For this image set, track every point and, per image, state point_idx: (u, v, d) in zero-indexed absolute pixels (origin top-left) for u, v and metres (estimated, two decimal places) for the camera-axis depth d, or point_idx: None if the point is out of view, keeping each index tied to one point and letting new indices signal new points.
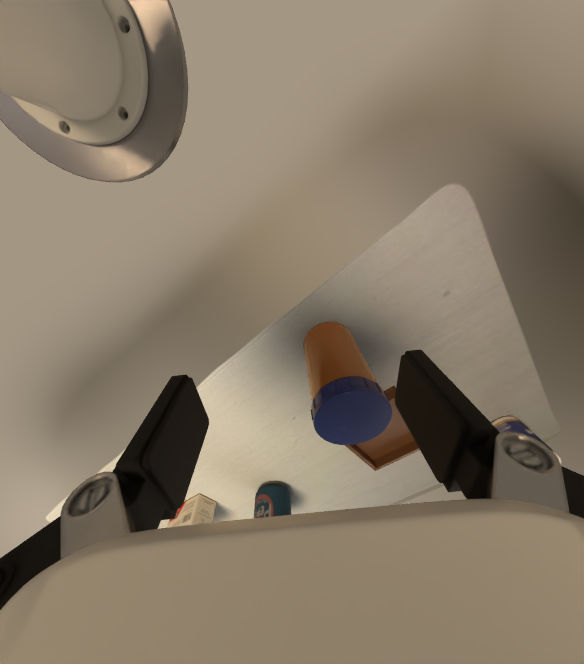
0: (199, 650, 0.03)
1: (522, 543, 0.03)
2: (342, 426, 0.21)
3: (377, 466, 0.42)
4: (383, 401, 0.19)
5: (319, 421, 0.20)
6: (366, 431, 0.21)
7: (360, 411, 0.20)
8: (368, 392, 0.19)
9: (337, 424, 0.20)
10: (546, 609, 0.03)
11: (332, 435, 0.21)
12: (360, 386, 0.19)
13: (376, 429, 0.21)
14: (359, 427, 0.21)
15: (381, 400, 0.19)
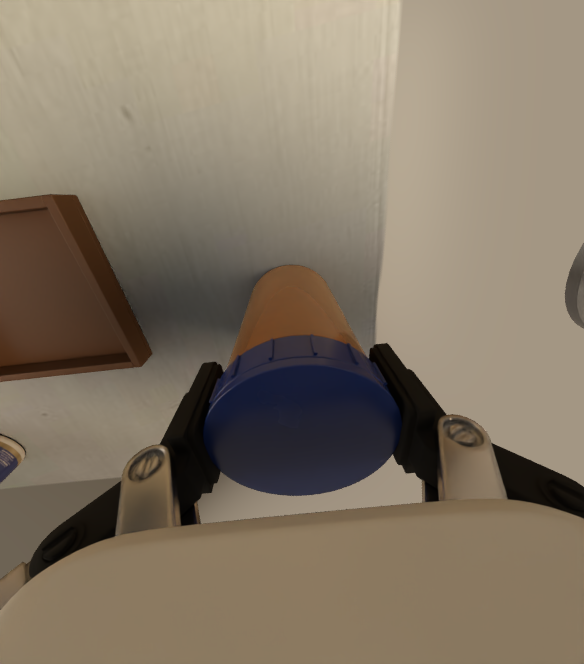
0: (199, 650, 0.03)
1: (522, 543, 0.03)
2: (297, 421, 0.08)
3: None
4: (313, 491, 0.10)
5: (358, 390, 0.07)
6: (243, 452, 0.08)
7: (318, 460, 0.09)
8: (355, 481, 0.09)
9: (314, 416, 0.07)
10: (546, 609, 0.03)
11: (282, 392, 0.07)
12: None
13: (238, 466, 0.09)
14: (268, 445, 0.08)
15: (317, 489, 0.10)
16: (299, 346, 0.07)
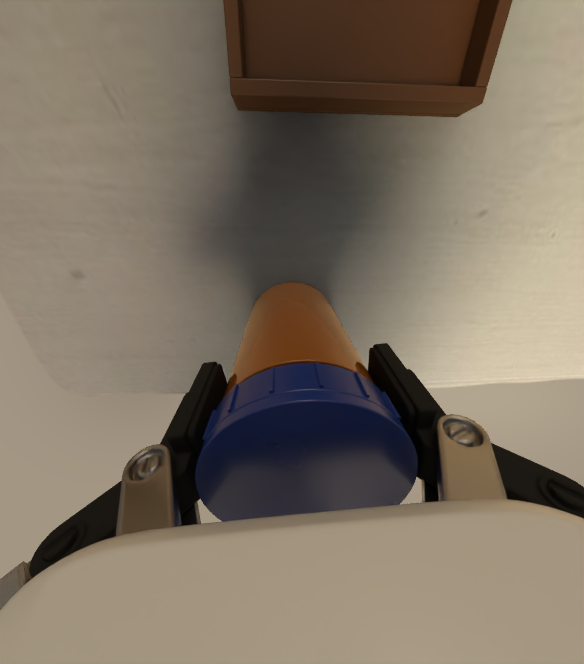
0: (199, 649, 0.03)
1: (522, 543, 0.03)
2: (301, 461, 0.07)
3: None
4: None
5: (370, 427, 0.06)
6: (240, 494, 0.07)
7: (324, 503, 0.08)
8: None
9: (320, 456, 0.07)
10: (546, 609, 0.03)
11: (284, 430, 0.06)
12: None
13: (234, 509, 0.08)
14: (268, 487, 0.07)
15: None
16: (303, 377, 0.07)
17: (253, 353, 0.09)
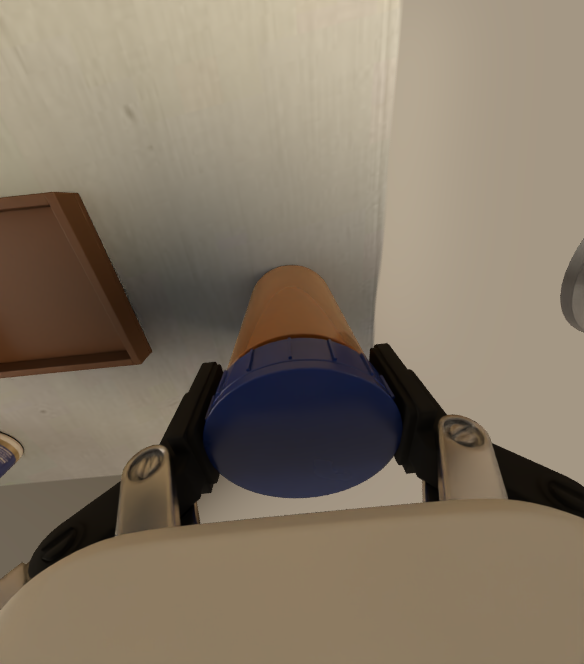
0: (199, 649, 0.03)
1: (522, 543, 0.03)
2: (315, 465, 0.09)
3: None
4: (265, 382, 0.07)
5: (276, 490, 0.09)
6: (363, 430, 0.08)
7: (280, 431, 0.08)
8: (218, 409, 0.07)
9: (302, 470, 0.09)
10: (546, 609, 0.03)
11: (332, 481, 0.09)
12: (210, 407, 0.08)
13: (370, 411, 0.07)
14: (338, 440, 0.08)
15: (260, 387, 0.07)
16: None
17: None
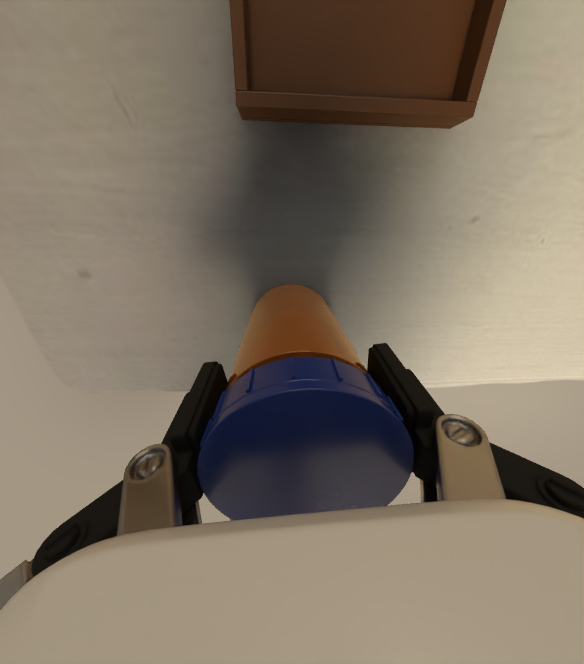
0: (198, 650, 0.03)
1: (522, 543, 0.03)
2: (319, 496, 0.08)
3: None
4: (266, 405, 0.06)
5: None
6: (371, 457, 0.07)
7: (282, 458, 0.07)
8: (215, 434, 0.07)
9: (305, 503, 0.08)
10: (546, 609, 0.03)
11: None
12: (206, 432, 0.07)
13: (379, 436, 0.07)
14: (344, 468, 0.07)
15: (261, 409, 0.06)
16: None
17: (253, 347, 0.10)
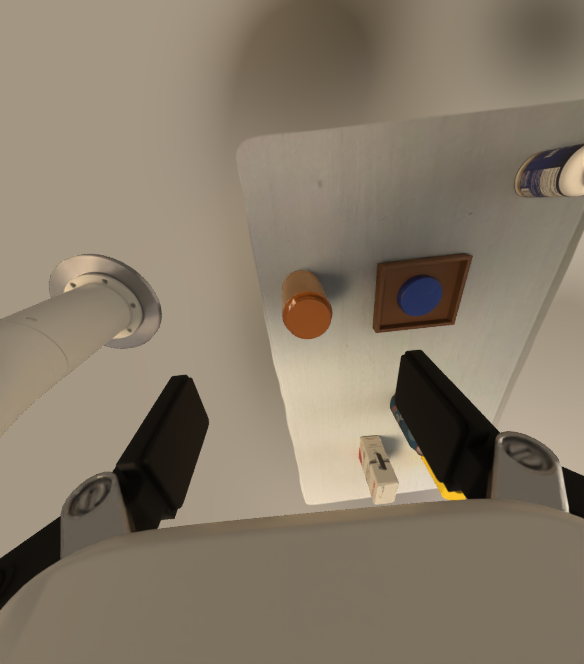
0: (199, 650, 0.03)
1: (522, 543, 0.03)
2: (428, 294, 0.39)
3: (451, 320, 0.42)
4: (403, 306, 0.40)
5: (436, 301, 0.40)
6: (418, 287, 0.38)
7: (415, 302, 0.40)
8: (407, 313, 0.41)
9: (429, 297, 0.39)
10: (546, 609, 0.03)
11: (436, 289, 0.39)
12: None
13: (413, 287, 0.38)
14: (420, 291, 0.39)
15: (404, 306, 0.40)
16: None
17: (324, 294, 0.31)
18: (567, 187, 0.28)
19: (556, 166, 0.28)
